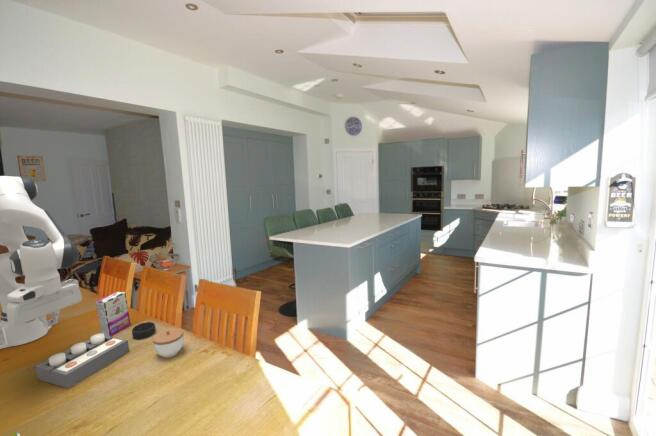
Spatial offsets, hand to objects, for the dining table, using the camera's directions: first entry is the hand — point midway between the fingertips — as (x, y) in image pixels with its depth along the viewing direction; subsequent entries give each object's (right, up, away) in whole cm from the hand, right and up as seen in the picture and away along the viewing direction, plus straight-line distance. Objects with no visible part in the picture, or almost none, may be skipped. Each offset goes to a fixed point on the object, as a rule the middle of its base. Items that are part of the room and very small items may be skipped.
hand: (51, 324), depth 108 cm
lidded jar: (+34, -16, +14) cm, 41 cm away
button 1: (+1, -16, +2) cm, 16 cm away
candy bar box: (0, -14, +34) cm, 37 cm away
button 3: (+5, -13, +15) cm, 21 cm away
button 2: (+3, -15, +9) cm, 17 cm away
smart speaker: (+15, -15, +29) cm, 36 cm away
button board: (+6, -18, +8) cm, 21 cm away
